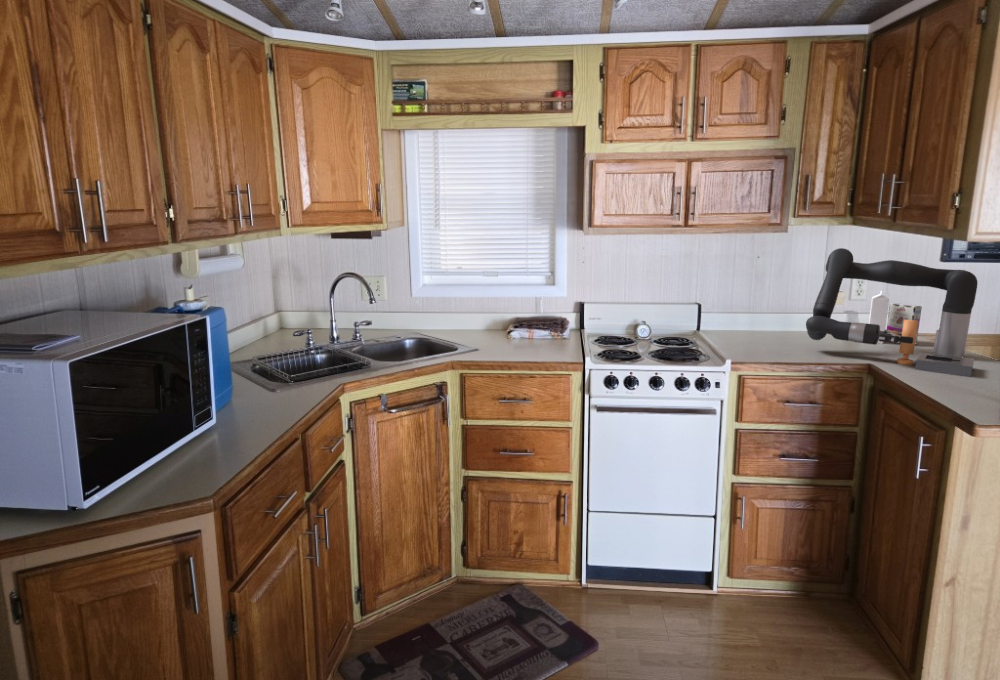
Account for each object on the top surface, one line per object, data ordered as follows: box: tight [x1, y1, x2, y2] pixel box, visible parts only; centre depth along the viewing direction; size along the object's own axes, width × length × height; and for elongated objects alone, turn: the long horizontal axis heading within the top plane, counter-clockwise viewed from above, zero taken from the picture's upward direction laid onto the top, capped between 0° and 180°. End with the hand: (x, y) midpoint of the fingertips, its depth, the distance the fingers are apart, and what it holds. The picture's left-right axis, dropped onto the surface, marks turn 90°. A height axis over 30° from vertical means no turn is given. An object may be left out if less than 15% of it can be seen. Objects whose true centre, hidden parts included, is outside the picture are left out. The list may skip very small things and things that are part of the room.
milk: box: [867, 290, 890, 344], centre depth 277 cm, size 6×6×22 cm
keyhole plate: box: [914, 352, 975, 378], centre depth 231 cm, size 16×16×4 cm
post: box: [896, 320, 918, 366], centre depth 236 cm, size 5×5×16 cm
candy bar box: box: [886, 302, 923, 343], centre depth 277 cm, size 11×5×16 cm, turn 25°
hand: (914, 338), depth 235 cm, fingers open, 8 cm apart
